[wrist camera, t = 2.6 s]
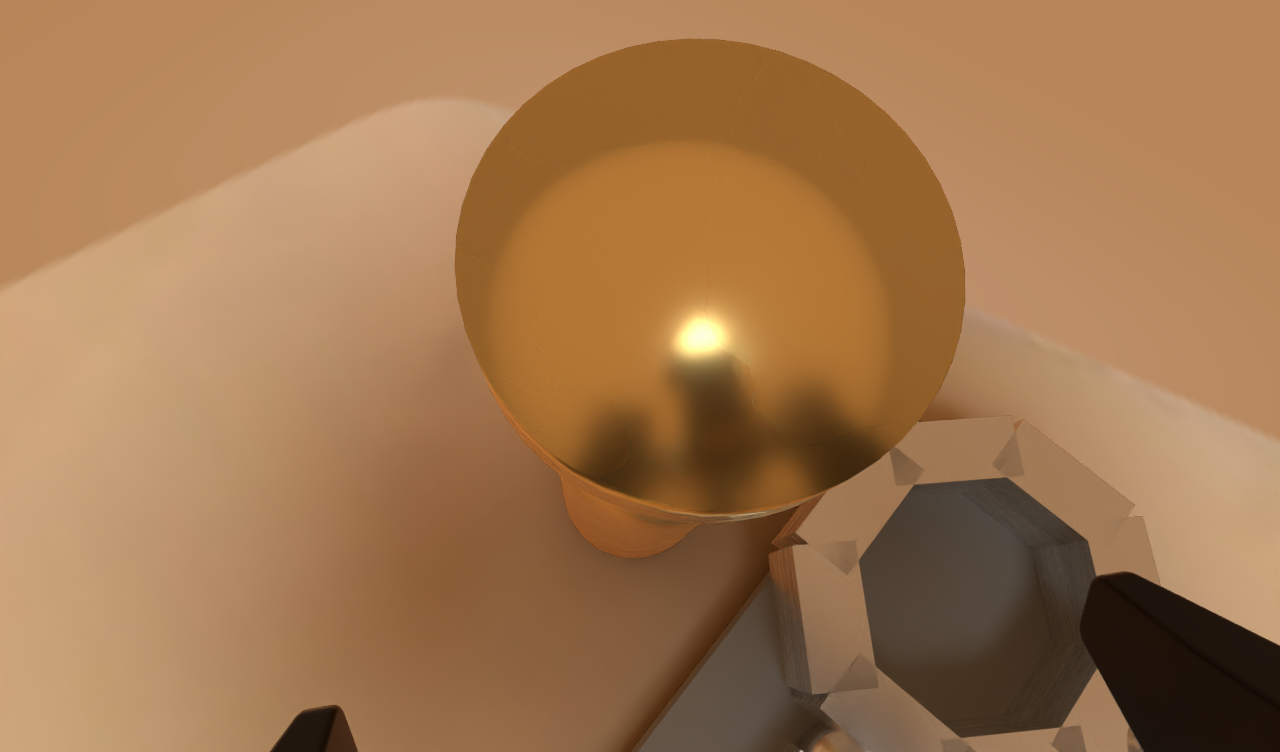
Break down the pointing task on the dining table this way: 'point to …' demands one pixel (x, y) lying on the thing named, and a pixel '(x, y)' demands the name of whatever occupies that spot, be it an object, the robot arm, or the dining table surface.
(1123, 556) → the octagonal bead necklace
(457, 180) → the dining table surface
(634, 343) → the golden flared cup
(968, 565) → the grey base plate
